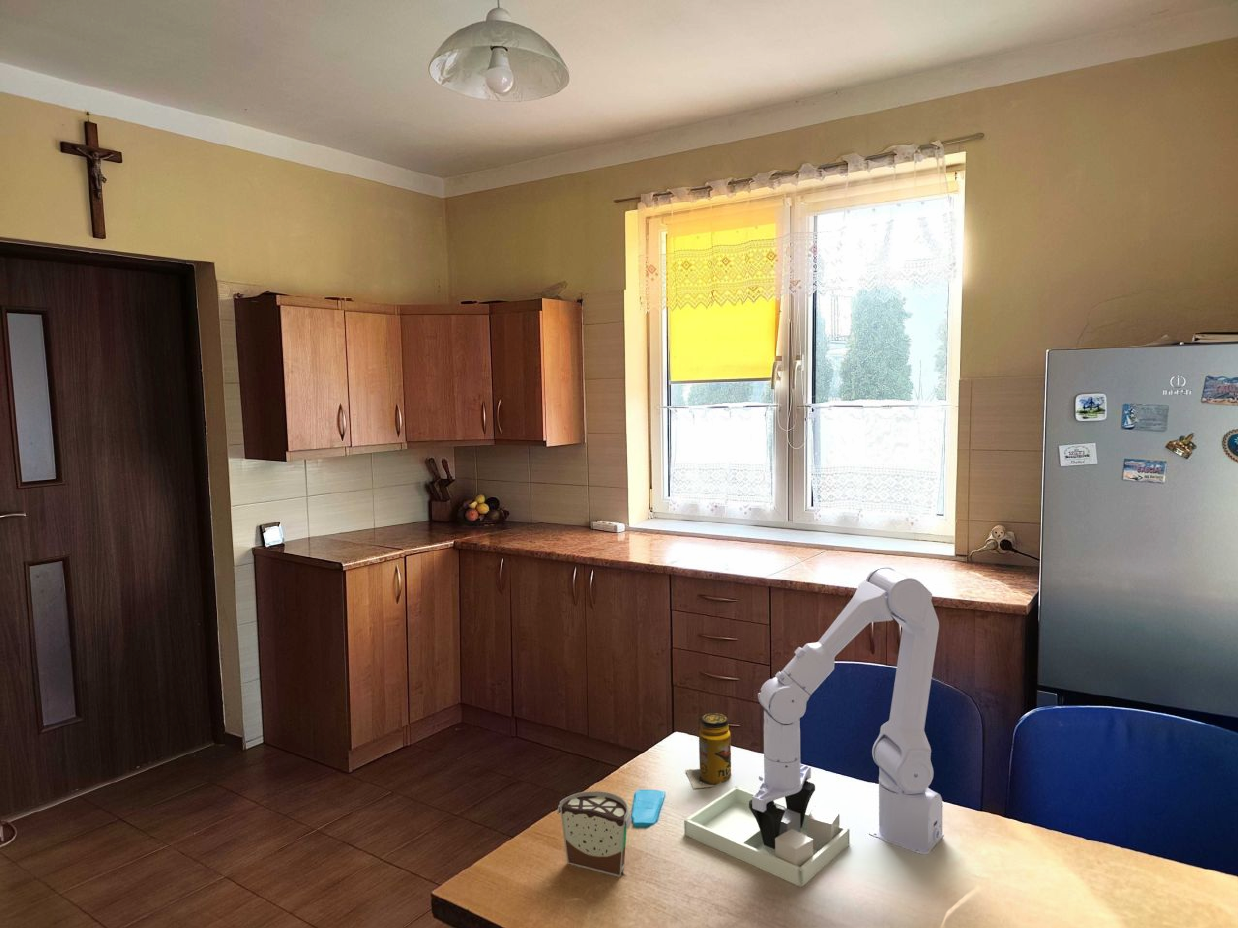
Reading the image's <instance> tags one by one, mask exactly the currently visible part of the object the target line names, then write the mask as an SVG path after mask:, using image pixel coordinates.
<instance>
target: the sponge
mask: <svg viewBox="0 0 1238 928" xmlns="http://www.w3.org/2000/svg"><path fill="white" fill-rule="evenodd" d="M665 797H666V791H664V790H661V789H660V790H659V789H637V790H635V792H634V795H633V802H632V805H631V806H632V807H631V813H630V815H631V819H632V820H631V822H632V825H633V827H634V828H651V827H652V826H654V825H655V824H657V823H659V819H660V814H661V810H662V808H663V805H664V801H665Z"/></svg>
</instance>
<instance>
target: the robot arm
mask: <svg viewBox="0 0 1238 928" xmlns="http://www.w3.org/2000/svg"><path fill="white" fill-rule="evenodd" d="M932 599H933V593H932V592H931V591H930V590H929V589H928V588H927V587H926V586H925V585H924V584H923V583H922V582H921V581H920V580H918V579H915V578H913V577H909V576H907V575H905V574H903V573H900V572H898V571H897V570H895V569H894V568H892V567H889V566H888V567H887V566H881V567H880V566H879V567H877V568H875V569H873V570H871V571H870V572H869V574H868V575H867V577H866V578H865V579H864V580H863V581H861V582H860V583H859V584H858V586H857V588H856V590H855V593H854V595H853V597H852V598H851V599H850V601H849V602H848V603H847V604H846V605H845V607H844V608H843V609H842V611H841V612H840V613H839V614H838V616H837V617H836V619H835V620H833V622H832V623H831V625H830V626H829V627H828V628H827V630H826V631H825V632H824V634H822V636H821V638H820V639H818V641H817V642H810V643H809V642H808V643H805V644H804V646H802V647H800V646H798V647H797V648H796V649H795V650H794V652H793V653H794V654H795V655H794V656H793V658H792V659H791V660H790V661H789V662H788V663H787V664H786V665H785V667H784V668H783V669H782V670H781V671H777V672H776V674H775V675H774V676H775V677H773V678H770V679H767V680H766V681H765V682H764V683H763V684H762V686H761V688H760V691H761V692H759V693H757V699H758V702H759V703H760V705H761V706H762V707H763V708H764V710H763V764H764V765H763V769H764V771H763V772H762V773H760V774H759V775H758V780H759V781H761V783H760V785H759V787H758V789H757V791H756V793H755V795H754V796H752V800H750V801H749V809H750V810H751V812H752V813H753V815H754V817H755V819H756V821H757V823H758V826H759V829H760V832H761V835H762V839H763V843H764V845H765V846H768V847H770V848H773V849H775V838H776V837H778V836H779V828H780V824H781V820H782V817H783V815H784V813H785V810H782V809H779V808H777V807H776V805H774V801H777V800H779V799H782V798H784V799H785V805H786V806H787V809H789V810H792V811H794V812H797V813H800V828H802V825H803V821H804V817H805V813H807V809H808V805H809V802H810V800H811V798H812V796H813V794H814V792H815V791H816V784H814V783H813V782H810V781H808V780H810V779H811V778H812V775H811V774H812V772H811V771H812V770H811V769H812V768H811V766H809V765H806V764H803V763H801V728H800V727H801V726H800V721H801V720H800V718H803V716H804V715H805V713H806V709H807V702H808V701H809V699H810V697H811V696H812V695H813V693H814V692H815V691H816V690H818V688H819V687H820V685H822V684H823V682H824V681H825V680H827V677H828V676H830V674H831V673H832V672H833V671H834V670H835V657H836V656H837V655H838V654H839V653H840V652H842V650H843V649H844V648H845V647H846V646H848V644H850V642H852V641H853V640H854V638H855V637H857V636H858V635H859V634H860V632H862V631H863V630H864V628H866V627H867V626H868V625H869V624H870V623H878V622H889V621H893V620H895V621H896V622H897V623H898V625H899V626H900V627H901V628H902V629H901V638H900V643H899V650H898V657H897V664H896V671H895V676H894V677H895V678H894V684H893V685H894V686H893V692H892V699H891V705H890V713H889V719H888V721H886V722H885V723H883V724H882V725H881V726H880V730H879V731H880V732H879V735H878V736H877V738H876V740H875V741H874V744H872V745H873V746H872V747H871V748H872V750H871V753H872V754H871V757H872V758H873V762H874V763H875V764H876V765H877V766H878V767H879V770H878V771H879V775H878V824H877V825H876V826H875V827H873V829H872V830H871V831H870V832H868V835H869V836H871V837H874V838H876V839H878V840H882V841H885V842H888V843H890V844H893V845H896V846H898V847H901V848H903V849H906V850H909V851H912V852H914V853H917V854H919V855H923V856H926V855H928V854H929V852H930V851H931V850H932V849H933V848H934V847H935V846H936V845H937V844H938V843H939V842H940V841H941V839H943V837H944V836H945V834H944V833H943V798H942V796H941V794H940V793H938V792H937V791H934V790H932V789H931V788H929V787H930V785H931V784H932V781H933V779H934V767H933V765H932V761H931V760H932V759H931V758H932V757H931V756H932V754H931V753H932V749H931V745H930V743H929V741H928V740H929V739H928V737H927V735H926V732H925V725H926V718H927V712H928V706H929V698H930V692H931V685H932V678H933V671H934V664H935V656H936V651H937V643H938V637H939V631H940V622H939V619H938V615H937V613H936V610H935V608H934V604H933V602H932Z"/></svg>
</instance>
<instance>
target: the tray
mask: <svg viewBox="0 0 1238 928" xmlns="http://www.w3.org/2000/svg"><path fill="white" fill-rule="evenodd" d="M755 794H756V793H755V792H752V791H750V790H747V789H744V788H742V787H739V786H734V787H732V788H731V789H730V790H728V791H726V792H724V793H723V794H722V795H720V796H719V797H717V798H716V799H714V800H712V801H711V802H709V803H708V804H707V805H705V806H703V807H702V808H700V809H699V810H697V811H696V812H694V813H692V814H691V815H690V816H688V817H687V818H685V819H683V825H684V826H683V828H684V829H683V830H684V834H683V835H684V836H686V837H689V838H691V839H694V840H696V841H698V842H700V843H701V844H705V845H707V846H709V847H711V848H714V849H715V850H717V851H720V852H722V853H724V854H727V855H729V856H731V857H733V858H736V859H737V860H740V861H743V862H744V863H746V864H748V865H751V866H753V867H755V868H757V869H760V870H762V871H765V872H767V873H768V874H771V875H774V876H775V877H778V878H780V879H782V880H785V881H786V882H789V883H791V884H793V885H796V886H798V887H800V888H803V887H804V886H805V885H806V884H807V883H808V882H809V881H810V880H811V879H813V878H814V877H815V876H816V875H817V874H818V873H819V872H820V871H821V870H823V869H824V868H825V867H826V866H827V865H828V864H829V863H831V862H832V860H834V858H836V857H837V856H838V855H839V854H840V853H842V852H843V850H845V849H846V848H847V847H848V846H850V828H849V827H845V826H844V825H840V833H839V834H838V835H837V836H836V837H834V838H833V839H832V840H831V841H830V842H829V843H828V844H826V845H825V846H824V847H823V848H822V849H821V850H820V851H818V850H814V849H813V857H811V858H810V859H809V860H808V861H807V862H806V863H805V864H803V865H802V866H801V867H798V866H795V865H793V864H791V863H788V862H786V861H784V860H781V859H779V858H777V857H775V849H773V848H770V847H768V846H765V845H764V843H763V839H762V835H761V832H760V829H759V826H758V823H757V821H756V819H755V817H754V815H753V813H752V812H751V810H750V809H749V801H750V800H752V796H754V795H755ZM774 805H776V807H778V806H781V807H784V808H786V809H787V806H786V803H785V804H784V803H782V802H779V801H777V800H774ZM809 814H810V813H809V812H806V813H805V817H804V821H803V825H802V828H800V833H801V834H803V835H805V836H807V817H808V815H809Z"/></svg>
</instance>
